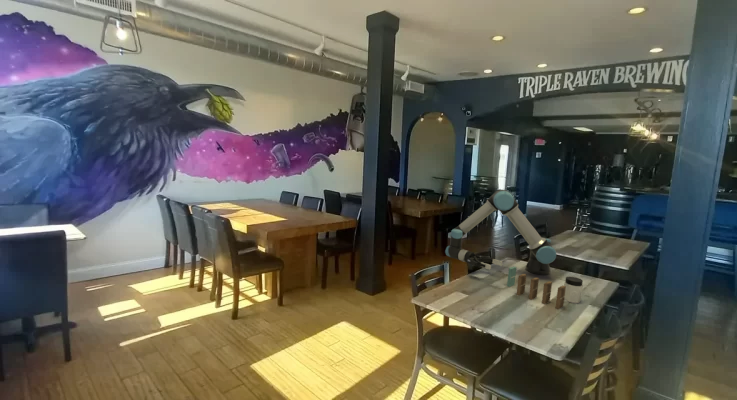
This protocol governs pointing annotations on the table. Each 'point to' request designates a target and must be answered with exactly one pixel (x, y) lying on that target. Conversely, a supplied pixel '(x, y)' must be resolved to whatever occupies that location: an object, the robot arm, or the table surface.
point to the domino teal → (511, 276)
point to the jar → (573, 289)
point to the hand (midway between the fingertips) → (496, 265)
